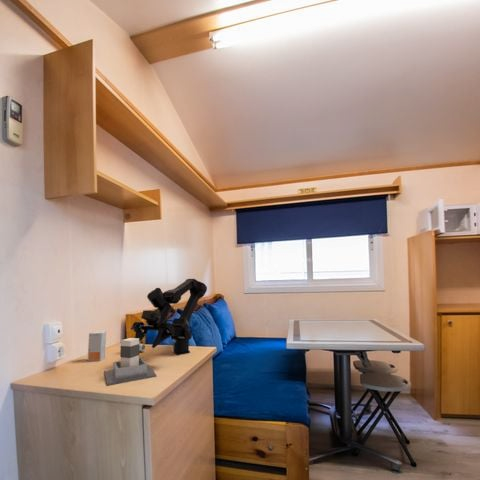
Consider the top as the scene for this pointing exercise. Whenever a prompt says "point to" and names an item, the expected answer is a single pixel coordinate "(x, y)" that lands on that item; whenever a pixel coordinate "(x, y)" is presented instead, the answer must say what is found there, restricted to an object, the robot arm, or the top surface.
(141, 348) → the valve
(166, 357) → the top surface
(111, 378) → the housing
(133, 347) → the plug
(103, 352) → the skincare box
